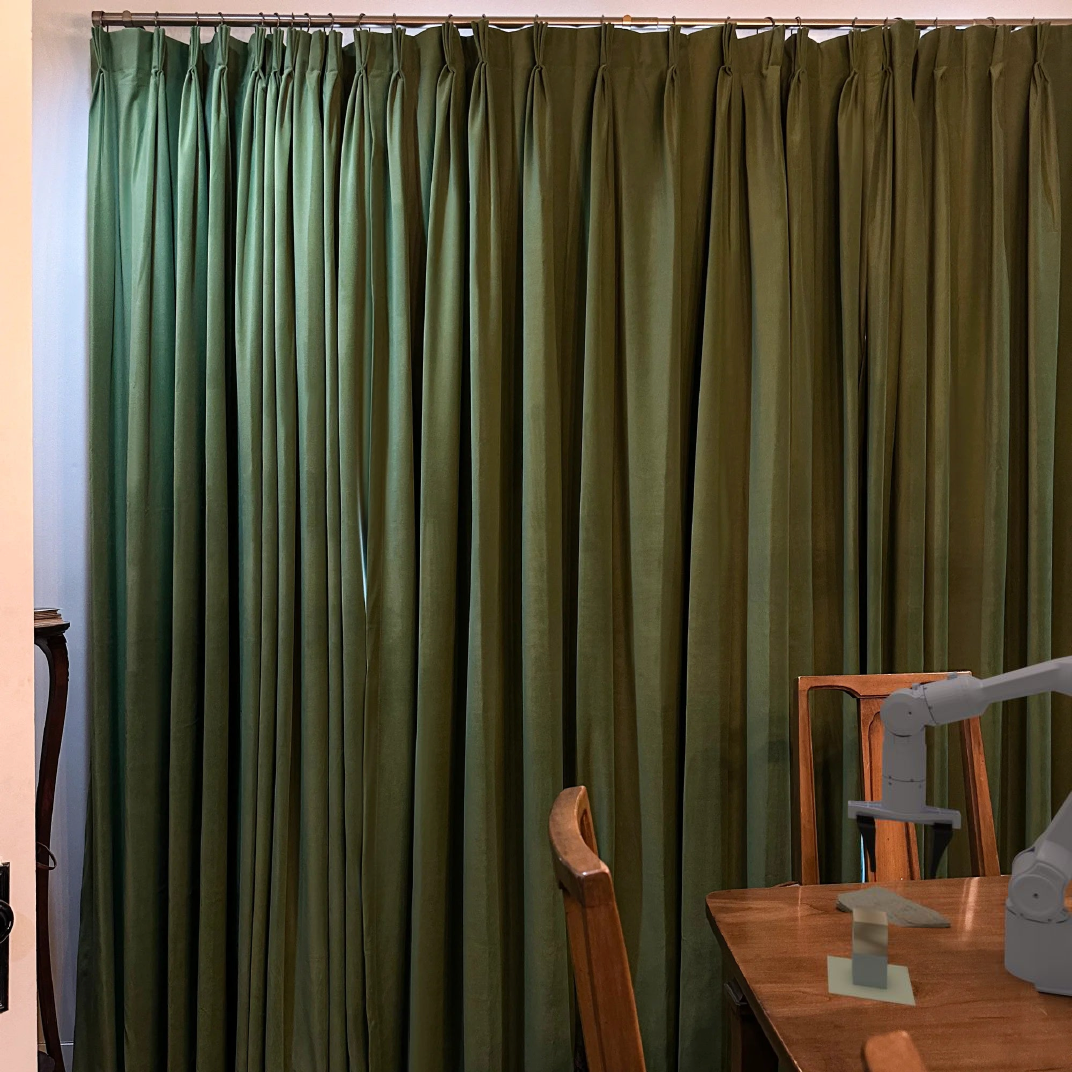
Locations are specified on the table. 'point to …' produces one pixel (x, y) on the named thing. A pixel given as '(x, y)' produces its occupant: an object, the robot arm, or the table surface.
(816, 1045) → the table surface
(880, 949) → the cream cube
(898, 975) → the plate
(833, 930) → the table surface
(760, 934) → the table surface
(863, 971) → the slate cube
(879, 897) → the stone
